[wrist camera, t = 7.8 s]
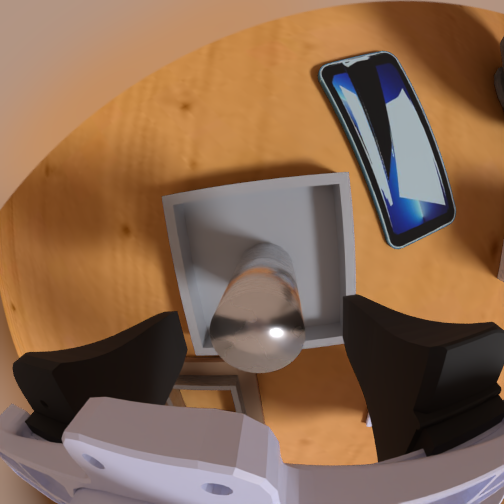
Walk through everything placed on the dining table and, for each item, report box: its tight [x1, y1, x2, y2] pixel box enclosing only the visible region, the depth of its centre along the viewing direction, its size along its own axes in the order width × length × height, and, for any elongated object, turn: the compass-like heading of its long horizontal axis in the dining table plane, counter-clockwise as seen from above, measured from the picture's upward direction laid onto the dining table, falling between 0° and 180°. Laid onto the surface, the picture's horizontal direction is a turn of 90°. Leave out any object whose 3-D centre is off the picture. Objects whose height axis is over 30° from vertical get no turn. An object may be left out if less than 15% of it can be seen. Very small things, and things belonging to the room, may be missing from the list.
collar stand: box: [165, 357, 265, 425], centre depth 23 cm, size 10×10×2 cm
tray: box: [162, 172, 356, 355], centre depth 19 cm, size 12×12×3 cm
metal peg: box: [210, 243, 305, 373], centre depth 15 cm, size 4×4×9 cm
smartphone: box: [318, 51, 456, 249], centre depth 17 cm, size 7×1×15 cm
